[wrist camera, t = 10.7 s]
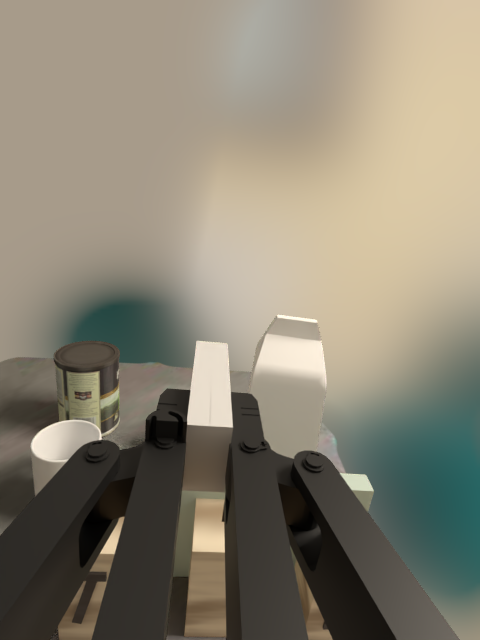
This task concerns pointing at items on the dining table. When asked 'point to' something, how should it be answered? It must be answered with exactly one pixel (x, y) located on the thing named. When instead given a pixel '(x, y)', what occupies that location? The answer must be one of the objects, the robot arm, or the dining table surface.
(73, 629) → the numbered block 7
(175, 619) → the dining table surface
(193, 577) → the plain block
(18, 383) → the dining table surface
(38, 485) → the mug
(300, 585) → the numbered block 1
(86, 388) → the coffee can
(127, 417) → the dining table surface
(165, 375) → the dining table surface
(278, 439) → the milk
